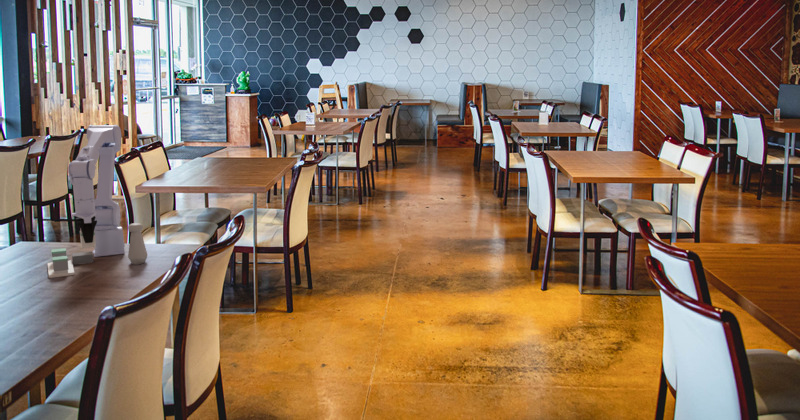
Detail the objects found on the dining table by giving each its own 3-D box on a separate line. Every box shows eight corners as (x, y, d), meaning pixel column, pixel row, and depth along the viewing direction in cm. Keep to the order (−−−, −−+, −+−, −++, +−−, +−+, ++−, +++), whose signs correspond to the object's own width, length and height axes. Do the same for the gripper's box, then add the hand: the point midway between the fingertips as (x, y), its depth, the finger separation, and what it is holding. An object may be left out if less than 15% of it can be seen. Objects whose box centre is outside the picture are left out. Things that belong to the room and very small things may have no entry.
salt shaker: (150, 260, 221) (148, 222, 218) (142, 265, 215) (139, 226, 213) (133, 260, 221) (130, 221, 219) (125, 264, 216) (122, 225, 213)
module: (95, 244, 215) (93, 228, 214) (96, 246, 212) (94, 231, 211) (81, 245, 213) (79, 230, 212) (82, 248, 210) (80, 232, 209)
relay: (92, 260, 222) (92, 251, 221) (93, 263, 218) (92, 254, 218) (72, 262, 219) (71, 253, 219) (72, 265, 216) (72, 256, 215)
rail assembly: (71, 262, 218) (70, 247, 217) (74, 274, 205) (73, 258, 204) (47, 265, 215) (46, 249, 214) (48, 277, 202) (47, 261, 201)
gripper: (69, 195, 214) (72, 237, 217) (71, 203, 201) (75, 247, 204) (93, 194, 217) (96, 234, 220) (97, 201, 205) (100, 245, 208)
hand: (88, 240), depth 212 cm, fingers closed on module, 4 cm apart
